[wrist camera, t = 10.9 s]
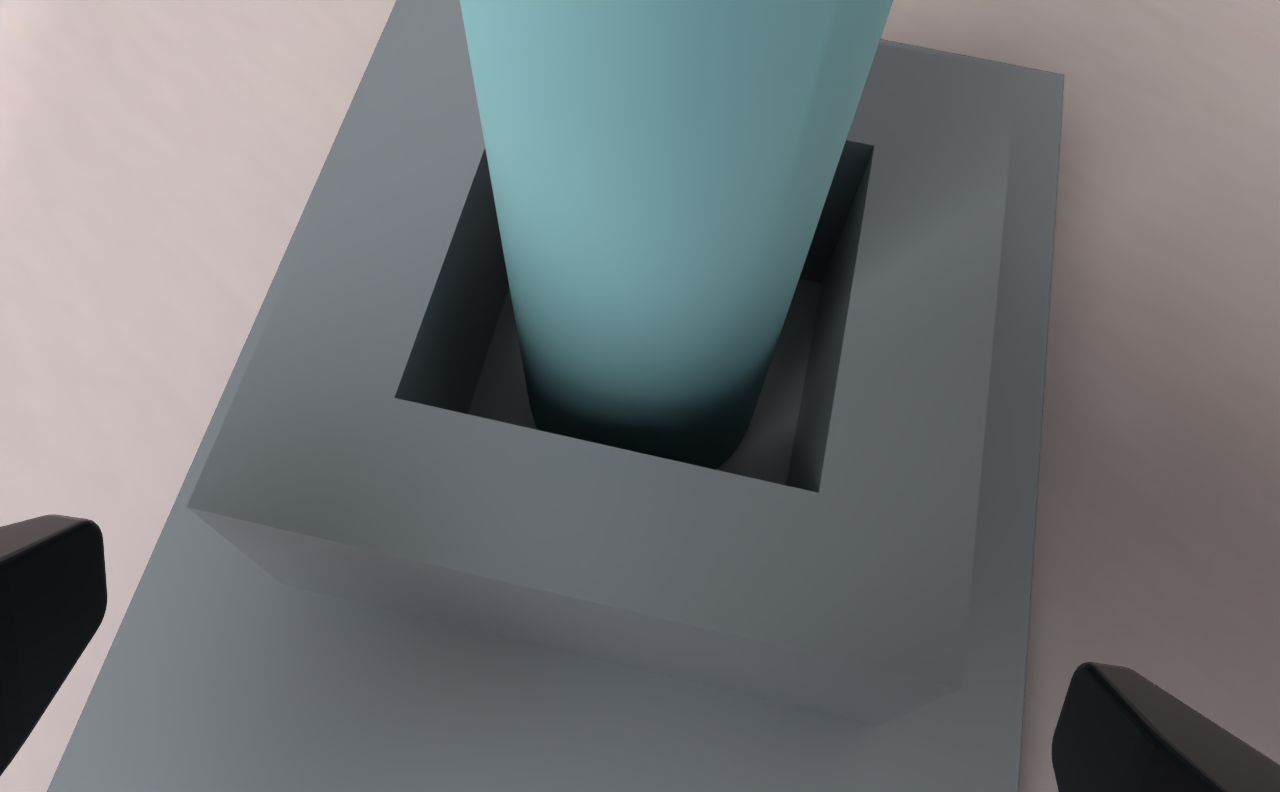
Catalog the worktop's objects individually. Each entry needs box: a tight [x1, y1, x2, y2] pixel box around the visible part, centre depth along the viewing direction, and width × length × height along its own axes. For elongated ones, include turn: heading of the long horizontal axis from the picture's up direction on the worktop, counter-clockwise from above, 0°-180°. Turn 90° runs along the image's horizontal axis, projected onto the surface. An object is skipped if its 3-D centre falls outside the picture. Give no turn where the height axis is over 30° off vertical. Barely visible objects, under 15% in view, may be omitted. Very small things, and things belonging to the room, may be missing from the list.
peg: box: [460, 0, 893, 470], centre depth 12 cm, size 4×4×13 cm
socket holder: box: [47, 0, 1064, 792], centre depth 16 cm, size 18×14×5 cm
